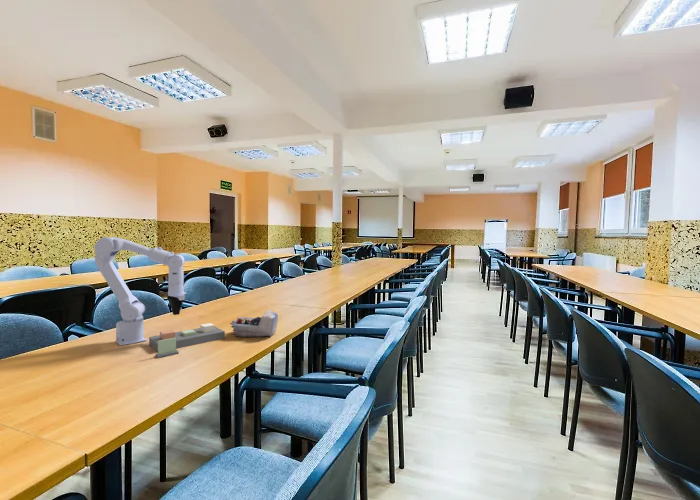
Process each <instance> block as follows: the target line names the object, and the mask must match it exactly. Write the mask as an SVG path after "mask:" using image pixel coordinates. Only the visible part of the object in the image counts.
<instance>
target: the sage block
mask: <svg viewBox="0 0 700 500" xmlns="http://www.w3.org/2000/svg"><path fill="white" fill-rule="evenodd" d="M192 329H193V328H192ZM192 329H185V330H181V335H182V336H184V337H186V336H191V335H196V331H194V330H192Z"/></svg>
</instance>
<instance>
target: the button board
mask: <svg viewBox="0 0 700 500" xmlns="http://www.w3.org/2000/svg"><path fill="white" fill-rule="evenodd" d="M192 330H194V331H196V335H191V336H186V337H184V336H182V335H181V331H182V330H181V331H174V332H175V338H176V349H179V348H185V347H189V346H194V345H198V344H199V345H200V344H204V343H210V342H213V341H214V342H215V341H219V340H223V339H225V338H226V331H225V330H222V329H220V328H218V327H216V326H215V331H212V332H207V333H203V332H201V331H200V327H198V328H192ZM148 340H149V342H148V343H149V344H148V345H149V346H150V347H152V348H153V349H154V350H155V351H156V352H158V341H160V340H162V339H161V338H160V334H159V335H152V336H149V338H148Z"/></svg>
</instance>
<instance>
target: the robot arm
mask: <svg viewBox="0 0 700 500" xmlns="http://www.w3.org/2000/svg"><path fill="white" fill-rule="evenodd" d="M93 249H94V251H95V253H94V263H95V265H96V267H97V268H98V271H100V273H101V276H102V277H103V279H104V280H105V282H106V283H107V285H108V286H109V288H110V290H111V292H113V295H114V296H115V298H116V300H117V301H118V308H119V311H120V317H121V318H122V320H120V321H117V322H116V323H115V339H116V340H115V342H116V343H117V345H119V346H124V345H125V346H126V345H131V344H137V343H141V342H147V341H148V339H147V338H146V337H144V335H145V334H144V329H145V328H144V327H145V326H144V316H143V314H144V313H145V311H146V306H145V303H144V304H143V302H141V301H139V299H138V298H137V296H135V295H133V293H132V292H131V290H130V289H129V287H128V284H126V282H125V280H124V279H123V277H122V275H121V273H120V272H119V270H118V269H117V267H116V266H115V263H114V262H113V261H114V260H115V257H116V255H117V254H118V253H119V252H120V251H129V252H134V253H137V254H139V255H143V256H146V257H148V259H149V260H150V261H152V262H155V263H157V264H160V265H164V266H167V267H168V274H167V275H168V283H167V284H168V291H167V296H168V297H169V298H167V301H168V302H169V306H170V308H171V312H172V315H174V316H178V315H180V312H181V310H182V309H181V308H182V306H183V303H184V302H185V298H186V297H185V295H187V291H184V287H185V286H184V279H185V278H184V277H185V276H184V274H185V273H184V264H185V262H186V261H185V260H186V259H185V258H184V256H183V255H181V254H180V253H175V252H174V251H167V250H164V249H163V247H160V246H159V247H156V246H155V247H154V248H153V247H152V248H149V247H147V246H144V245H143V244H138V243H136V242H134V241H131V240H129V239H125V238H119V237H117V236H111V237H107V236H103V237H101V238H99V239H98V240H97V241H96V243H95V244H94V246H93Z"/></svg>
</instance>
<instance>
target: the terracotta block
mask: <svg viewBox="0 0 700 500" xmlns="http://www.w3.org/2000/svg"><path fill="white" fill-rule="evenodd" d="M175 332H176V331H175V330H173V329H169V330H162V331H159V335H160V338H161V339H162V340H166V339H171V338H175Z"/></svg>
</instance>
